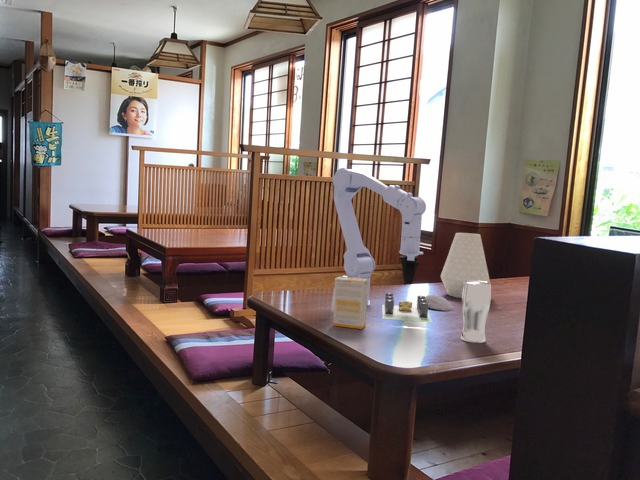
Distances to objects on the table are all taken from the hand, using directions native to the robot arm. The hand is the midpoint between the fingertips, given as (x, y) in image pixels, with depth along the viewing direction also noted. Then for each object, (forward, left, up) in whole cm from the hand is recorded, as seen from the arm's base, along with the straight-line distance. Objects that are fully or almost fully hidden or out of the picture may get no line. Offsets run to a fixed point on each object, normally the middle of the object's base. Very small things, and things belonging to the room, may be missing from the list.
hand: (407, 281), depth 167 cm
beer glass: (+16, -26, -10) cm, 32 cm away
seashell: (+11, +10, -10) cm, 18 cm away
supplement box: (-16, -21, -10) cm, 28 cm away
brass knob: (0, +2, -9) cm, 9 cm away
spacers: (0, 0, -9) cm, 9 cm away
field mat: (0, -2, -10) cm, 10 cm away
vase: (+23, +38, -10) cm, 46 cm away
